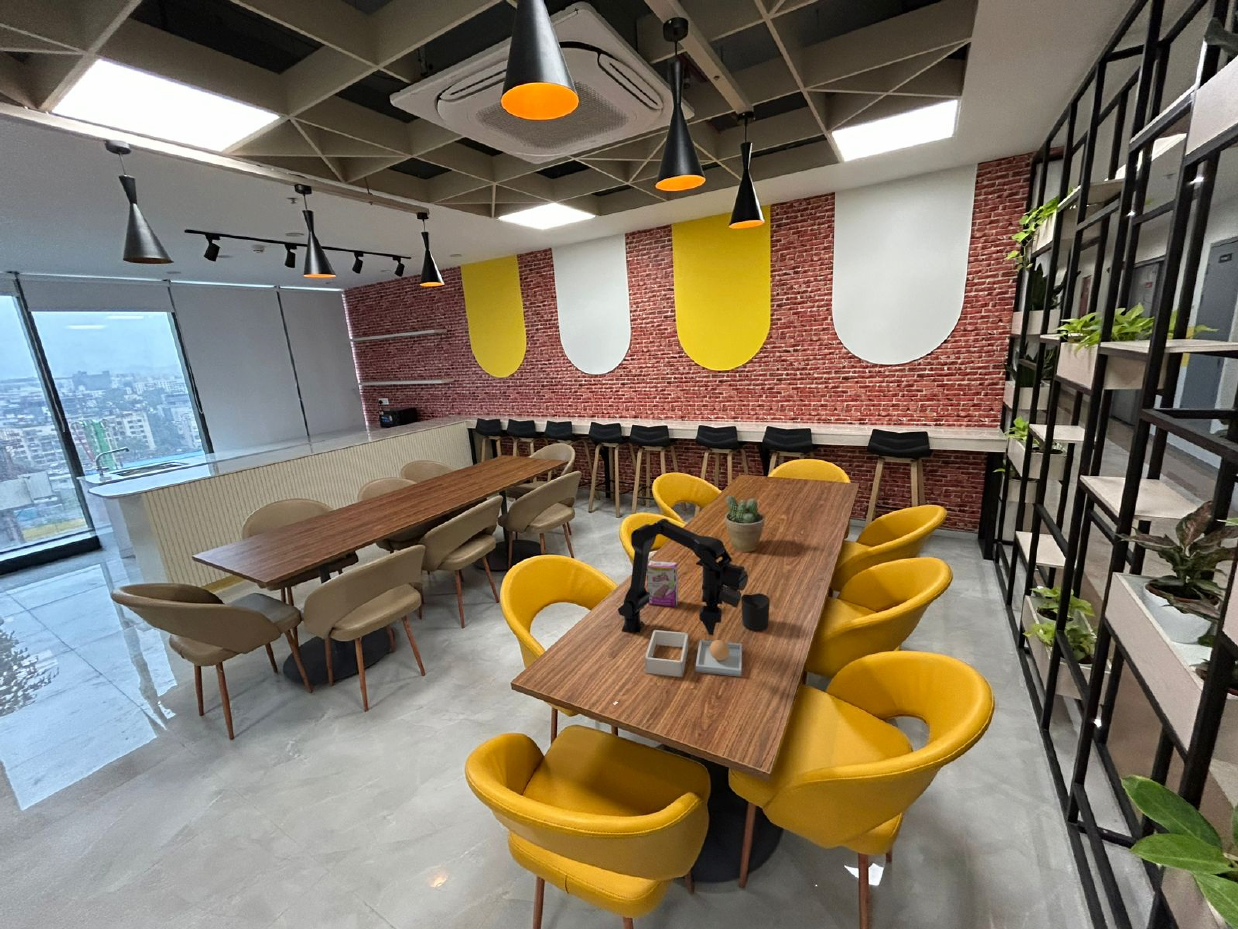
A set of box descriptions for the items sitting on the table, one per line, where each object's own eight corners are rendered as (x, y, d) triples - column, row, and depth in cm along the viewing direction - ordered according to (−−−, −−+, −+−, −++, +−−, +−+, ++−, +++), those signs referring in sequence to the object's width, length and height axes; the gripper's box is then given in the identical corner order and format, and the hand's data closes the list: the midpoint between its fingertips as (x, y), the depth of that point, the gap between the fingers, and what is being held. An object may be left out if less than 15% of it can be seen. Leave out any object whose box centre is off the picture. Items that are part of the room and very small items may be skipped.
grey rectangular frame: (654, 643, 166) (653, 630, 164) (688, 646, 163) (688, 633, 162) (645, 673, 151) (644, 658, 150) (682, 677, 148) (682, 662, 147)
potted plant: (761, 539, 243) (761, 491, 237) (768, 555, 226) (769, 503, 220) (723, 540, 245) (722, 492, 239) (727, 556, 228) (727, 504, 222)
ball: (710, 651, 158) (710, 635, 157) (729, 653, 157) (729, 636, 155) (709, 663, 153) (708, 646, 151) (728, 665, 151) (728, 648, 150)
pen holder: (748, 615, 179) (748, 589, 177) (773, 623, 173) (774, 597, 171) (736, 627, 172) (736, 601, 170) (762, 635, 166) (762, 609, 164)
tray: (699, 645, 163) (699, 640, 162) (741, 649, 159) (741, 643, 159) (695, 672, 150) (695, 665, 150) (741, 677, 147) (741, 670, 146)
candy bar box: (647, 605, 190) (645, 565, 186) (650, 598, 194) (648, 560, 191) (676, 607, 187) (675, 567, 183) (678, 601, 191) (677, 561, 187)
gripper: (739, 598, 138) (738, 647, 142) (740, 568, 156) (739, 612, 160) (699, 595, 141) (699, 643, 145) (704, 566, 159) (704, 609, 163)
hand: (712, 626), depth 153 cm, fingers open, 9 cm apart
